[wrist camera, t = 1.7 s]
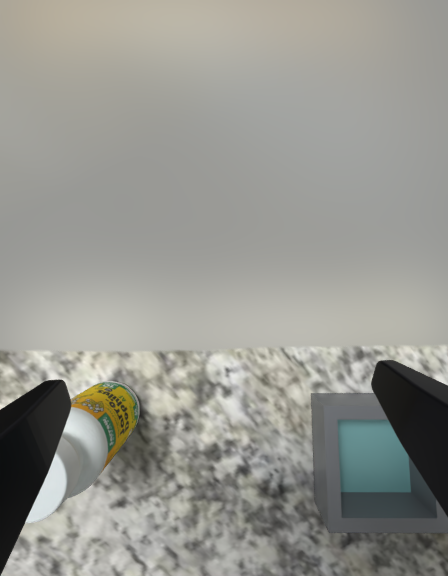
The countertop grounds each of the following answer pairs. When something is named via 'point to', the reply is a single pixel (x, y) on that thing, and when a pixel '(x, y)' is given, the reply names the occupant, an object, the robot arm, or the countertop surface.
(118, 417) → the supplement bottle
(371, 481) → the grey square tray
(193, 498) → the countertop surface
